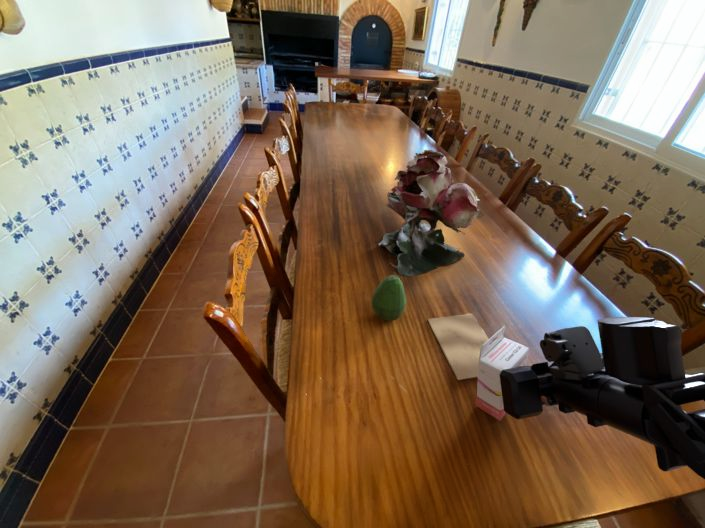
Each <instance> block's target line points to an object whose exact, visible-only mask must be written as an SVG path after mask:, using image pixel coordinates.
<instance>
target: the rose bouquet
mask: <svg viewBox="0 0 705 528" xmlns="http://www.w3.org/2000/svg"><path fill="white" fill-rule="evenodd" d="M414 154H415V155H414V156H413V159H411V160H409V161H408V162H407V165H406V170H404V169H403V170H402V169H400V170H398V171H397V172H396V175H395V178H394V181H396V180H397V182H396V184H397V185H394V186H393V187H392V188H391V190H390V192H389V191H388V193H387V194H386V197H387V204H385V206H386V207H387V208H389V209H391V210H392V211H394V212H395V213H396V214H397V215H398V216H400V218H402V219H403V220H404V222H403V224H402V225H401V227H399V228H398V229H397V230H395V231H392V232H390V233H384V234H383V237H382V240H381V241H380V242H379V243H377V245H378V246H379V247H385V248H386V250H387V251H388V252H389V253H390V254H392V256H393V257H394V258H395V259H397V265H395V264H394V263H391V262H389V264H390V265H391V266H392V267H393V268H394V269H395V271H396V272H397V273H398V274H399V276H406V277H412V276H413V277H414V276H418V275H422V274H427V273H429V272H432V271H433V270H436V269H438V267H441V266H447V265H450V264H454V263H456V262H457V261H458V260H460V259H462V258H465V253H464V252H462V251H460V250H461V248H459V249H458V248H456V247H454V246H452V245H449V244H447V243H445V236H444V234H443V230H442V228H437V226H438V225H437V224H438V222H440V223H442V224H443V225H444V226H445V227H447V228H448V229H451V230H453V231H455V232H456V233H458V234H459V233H462V235H465V233H464V232H463V231H461V230H459V229H467V228H468V227H469V226H471V225H472V223H473V219H475V220H477V219H481V218H483V217H484V213H483V212H482V210H480V209H478V202H479V201H481V199H479V197H478V196H477V193H476V192H475V189H473V188H472V187H471V185H468V184H467V183H463V182H458V183H456V182H455V179H454V178H453V177H451V176H452V172H451V171H452V170H451V168H449V167H447V165H448V160H447V157H446V156H445V154H443V153H442V152H441V151H436V150H433V149H423V151H421V152H415V153H414ZM454 182H455V183H454ZM423 221H426V222H423ZM436 228H437V229H436ZM400 251H401V253H398V255H397V253H396V252H400Z"/></svg>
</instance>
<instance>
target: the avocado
mask: <svg viewBox="0 0 705 528" xmlns="http://www.w3.org/2000/svg"><path fill="white" fill-rule="evenodd" d="M406 303H407V296H406V291H405V288H404V284H403V281H402V280H401V279H400V277H399V276H397V275H396V274H389V275H387V276H385V278H384V279H383V280H382V281H381V282H380V283H379V284H378V286H377V287H376V288H375V289H374V291H373V294H372V298H371V307H372V310H373V312H374V313H375V314H376V315H377V317H379V318H380V319H381V320H383V321H385V322H386V321H387V322H392V321H396V320H398V319H399V318H400V317H401V316H402V315H403V313H404V312H405V310H406V305H407V304H406Z"/></svg>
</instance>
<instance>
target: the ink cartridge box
mask: <svg viewBox="0 0 705 528" xmlns="http://www.w3.org/2000/svg"><path fill="white" fill-rule="evenodd" d="M505 331H506V325H503V326H502V327H500V328H499V330H498V331H496V332H495V333H494V334H493V335H492V336H491V337H490V338H488V339H489V340H487V341H486V342H485V343H484V344H483V345H482V347H481V351H480V356H479V362H478V378H477V382H476V383H477V386H476V404H475V405H476V407H477V408H479V409H480V410H482V411H483V412H485V413H487V414H488V415H489V416H491V417H493V418H494V419H496V420H497V421H499V422H501V421H502V419H503V418H504V417H505V416H506V415H507V413H506V412H505V411H504V406H503V398H502V391H501V383H500V375H499V374H500V373H501V371H502V370H504V369H510V368H516V367H519V366H527V363H528V356H529V351H530V347H527V346H525V345H523V344H521V343H519V342H516V341H514V340H511V339H509V338H507V337H504V335H505ZM490 343H491V344H490ZM489 344H490V345H489Z"/></svg>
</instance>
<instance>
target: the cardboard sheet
mask: <svg viewBox="0 0 705 528" xmlns="http://www.w3.org/2000/svg"><path fill="white" fill-rule="evenodd" d="M426 319H427V323H428V325H429V327H430V329H431V331H432V333H433V336H434V337H435V339H436V340H437V344H439V347H440V349H441V351H442V353H443V354H444V357H445V359H446V361H447V363H448V365H449V367H450V369H451V371H452V373H453V375H454V377H455V379H456V381H457V382H462V381H466V380H473V379H478V362H479V356H480V351H481V347H482V345H483V344H484V343H485V342H486V341H487V340H489V339H490V338H489V337H488V335H487V334H486V331H484V329H483V328H482V326H481V324H480V323H479V322H478V320H477V319H476V318H475V316H474V314H473V313H465V314H456V315H455V314H454V315H448V316H441V317H431V318H426ZM491 343H492V342H491ZM491 343H490V344H491ZM490 344H489V345H490Z"/></svg>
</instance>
